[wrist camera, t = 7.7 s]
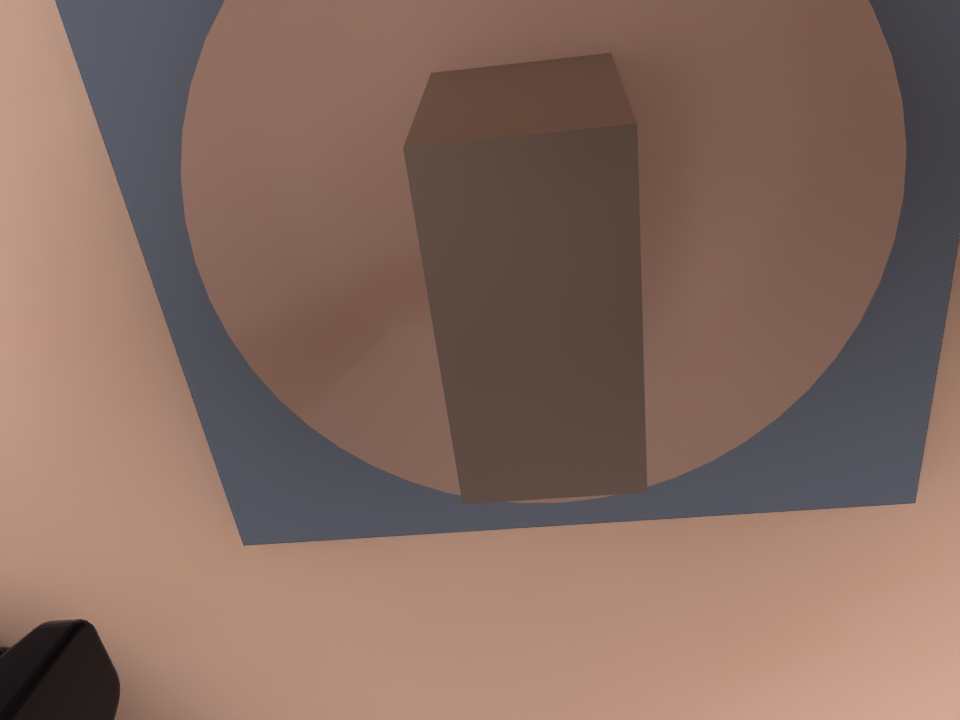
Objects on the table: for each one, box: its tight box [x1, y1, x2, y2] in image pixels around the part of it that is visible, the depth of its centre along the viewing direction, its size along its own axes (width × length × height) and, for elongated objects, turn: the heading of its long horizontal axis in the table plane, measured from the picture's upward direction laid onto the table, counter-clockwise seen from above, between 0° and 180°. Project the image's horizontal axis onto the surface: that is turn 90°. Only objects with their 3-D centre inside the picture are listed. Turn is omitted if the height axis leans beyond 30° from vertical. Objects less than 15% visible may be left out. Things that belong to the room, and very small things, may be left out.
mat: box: [55, 0, 960, 546], centre depth 17 cm, size 16×16×1 cm
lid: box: [181, 0, 906, 504], centre depth 15 cm, size 13×13×5 cm
